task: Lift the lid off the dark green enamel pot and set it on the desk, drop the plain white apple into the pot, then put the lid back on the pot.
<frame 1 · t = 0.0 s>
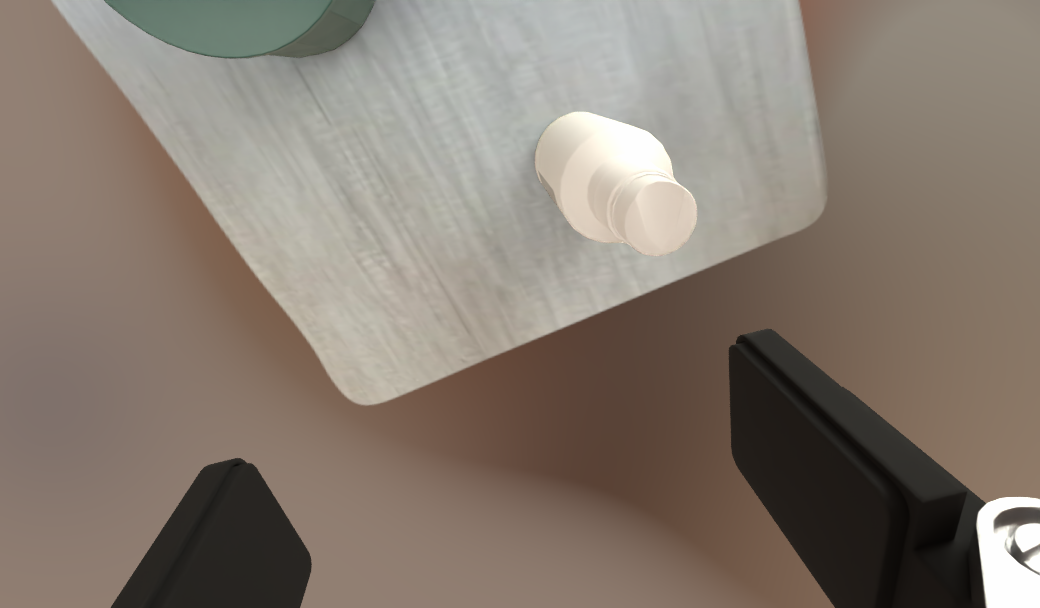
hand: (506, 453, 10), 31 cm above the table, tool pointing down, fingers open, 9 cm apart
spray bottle: (576, 157, 38), on the table
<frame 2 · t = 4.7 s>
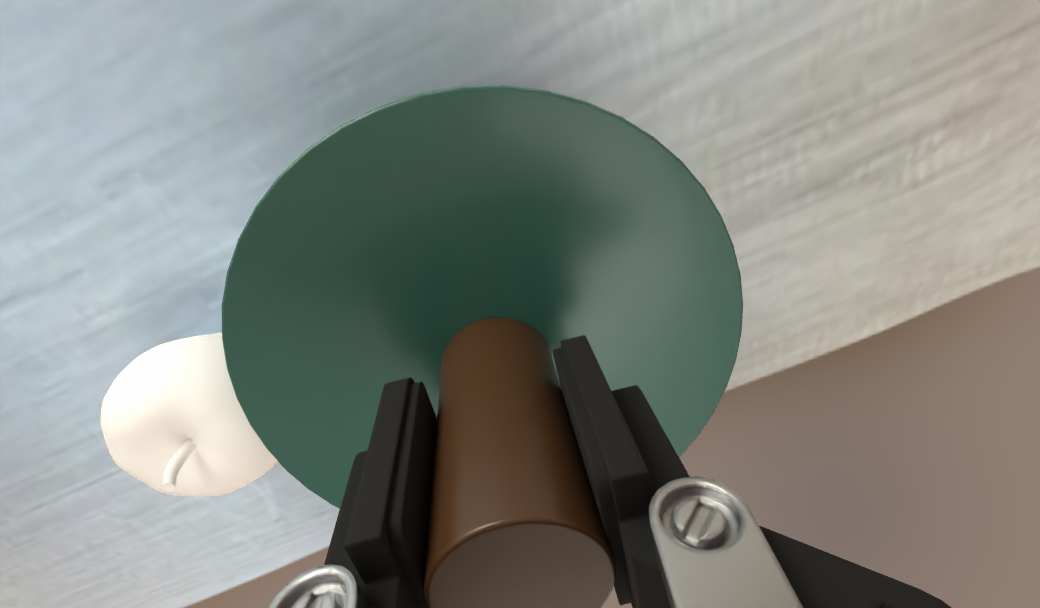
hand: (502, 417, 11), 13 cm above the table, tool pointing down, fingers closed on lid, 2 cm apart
plain white apple: (245, 365, 24), on the table
lid: (495, 352, 13), point 11 cm above the table, touching gripper, pot
when the fingers open (3 cm above the table, at t = 12.3 s): lid stays where it is, point 1 cm above the table.
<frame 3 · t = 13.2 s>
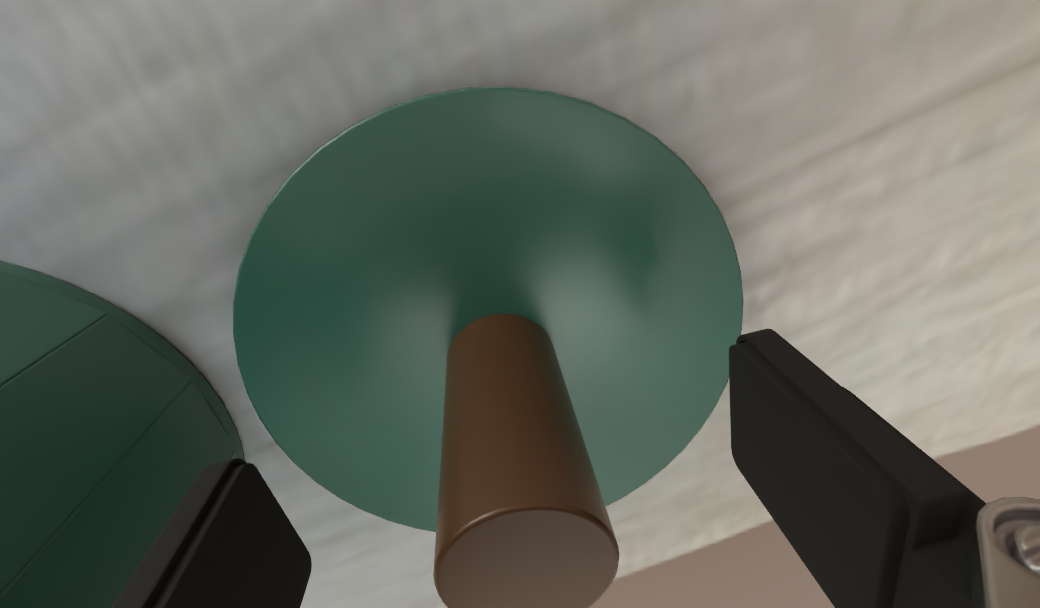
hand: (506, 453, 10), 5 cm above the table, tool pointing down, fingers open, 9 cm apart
pot: (14, 454, 14), on the table
lid: (499, 348, 13), point 1 cm above the table
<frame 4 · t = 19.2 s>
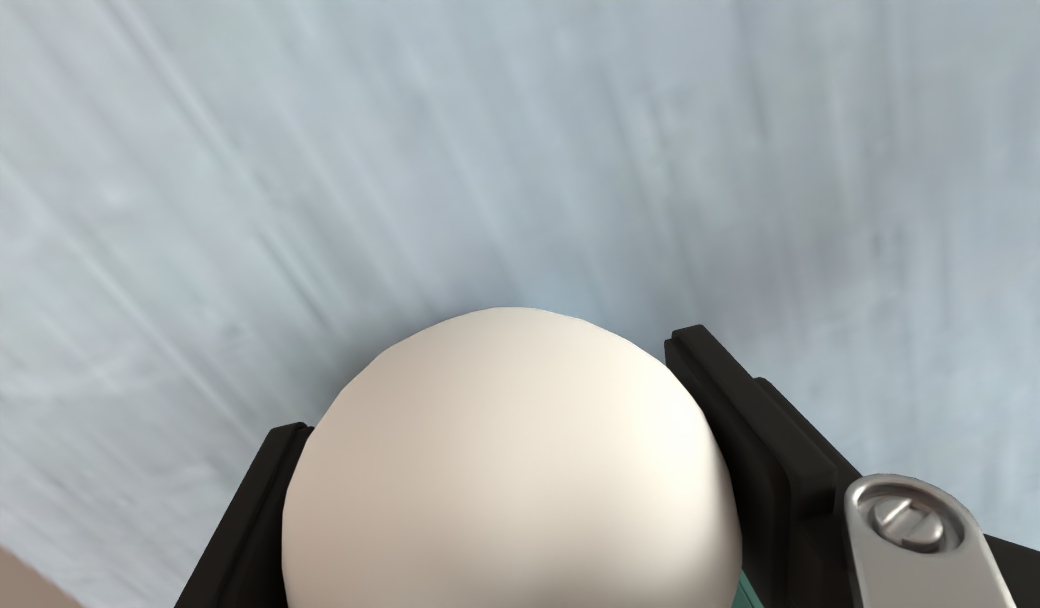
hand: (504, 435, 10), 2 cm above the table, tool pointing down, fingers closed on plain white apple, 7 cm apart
plain white apple: (498, 383, 12), on the table, touching gripper
when the fingers open (11 cm above the table, at t = 25.8 s): plain white apple drops 8 cm, resting on pot.
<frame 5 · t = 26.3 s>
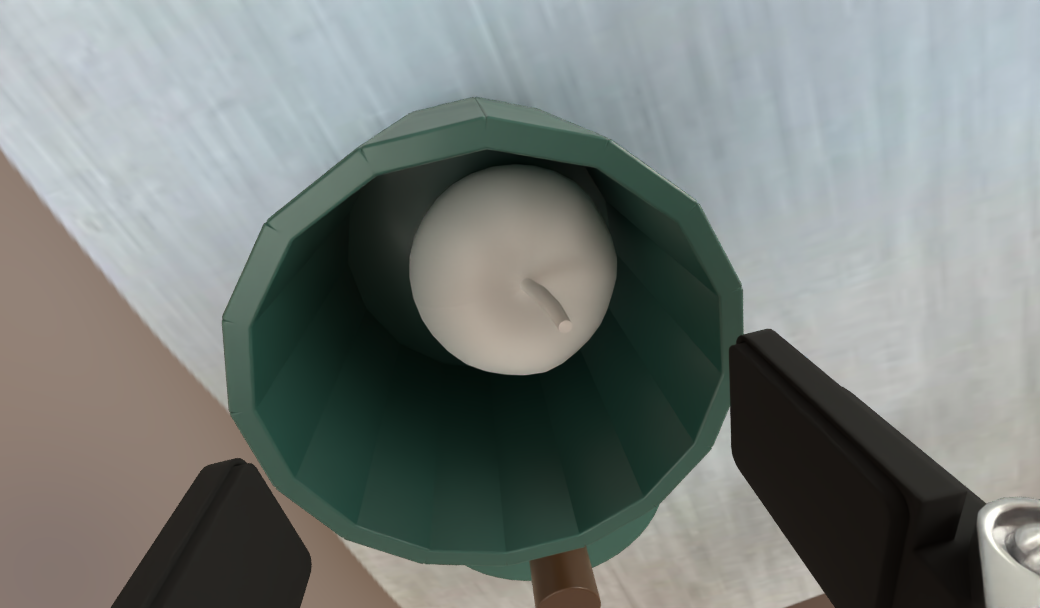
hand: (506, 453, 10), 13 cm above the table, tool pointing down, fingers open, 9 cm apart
plain white apple: (488, 254, 20), point 1 cm above the table, touching pot
pot: (482, 251, 21), on the table
lid: (545, 491, 27), point 1 cm above the table
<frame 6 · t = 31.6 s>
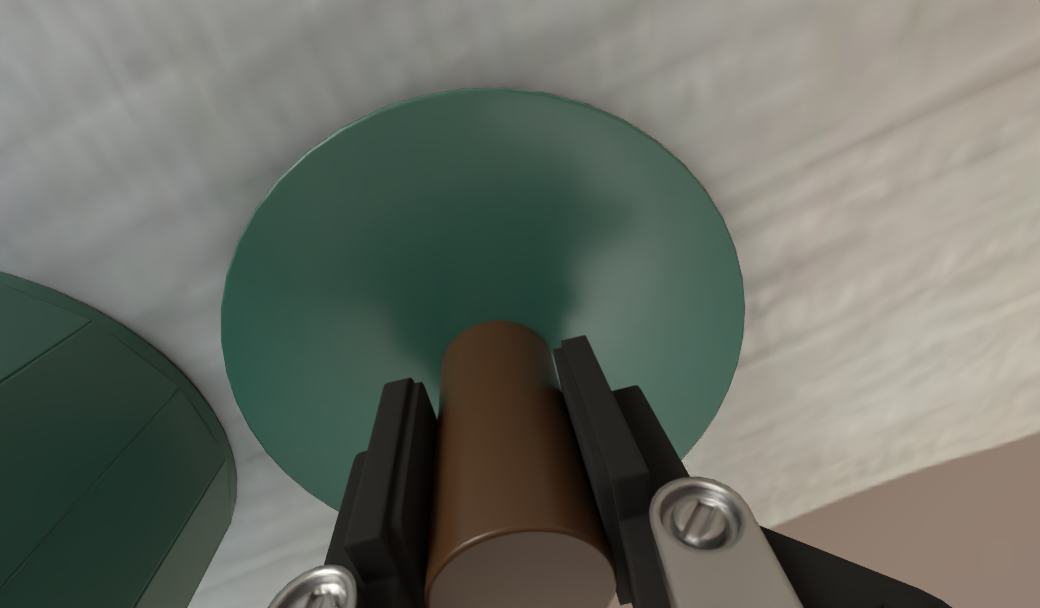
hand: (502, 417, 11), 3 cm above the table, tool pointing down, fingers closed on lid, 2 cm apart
lid: (495, 355, 13), point 1 cm above the table, touching gripper
when the fingers open (13 cm above the table, at t = 38.4 s): lid stays where it is, resting on pot.
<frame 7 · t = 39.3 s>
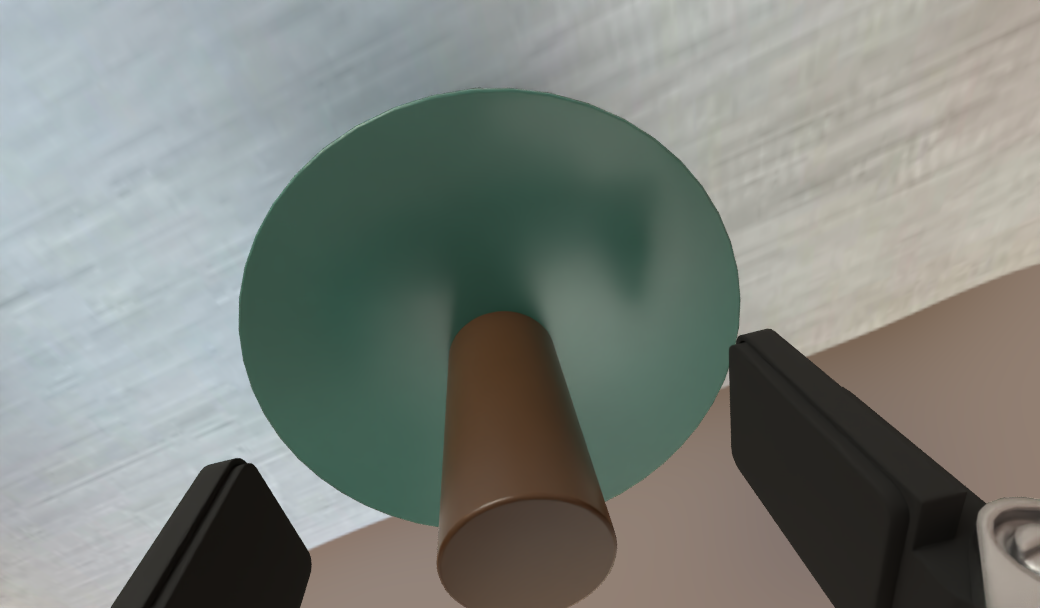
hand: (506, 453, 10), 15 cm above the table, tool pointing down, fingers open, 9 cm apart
lid: (500, 346, 13), point 10 cm above the table, touching pot
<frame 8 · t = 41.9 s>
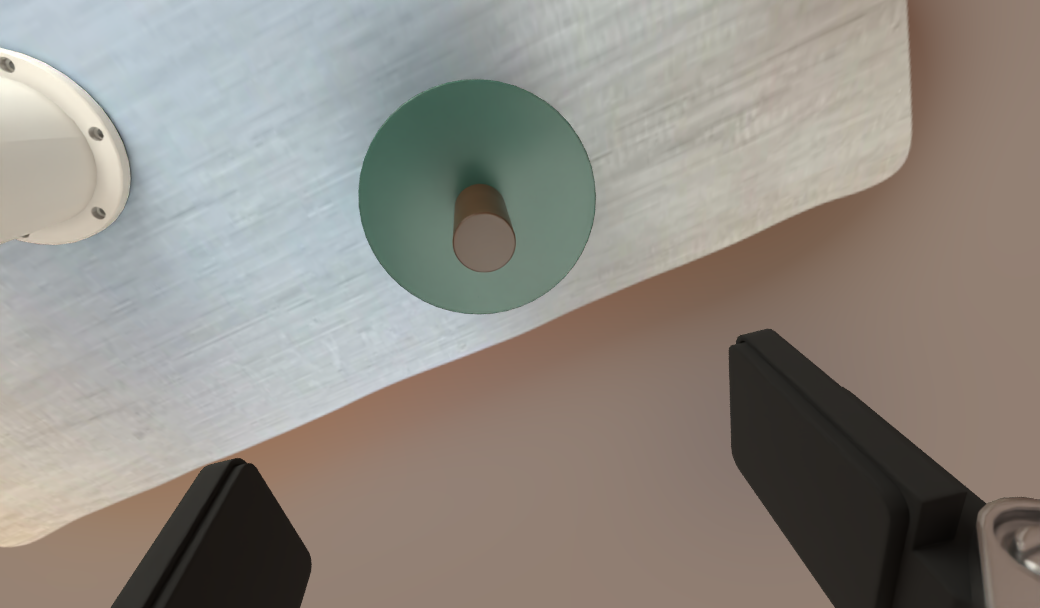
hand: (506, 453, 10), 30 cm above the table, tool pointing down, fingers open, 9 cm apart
lid: (479, 206, 27), point 10 cm above the table, touching pot
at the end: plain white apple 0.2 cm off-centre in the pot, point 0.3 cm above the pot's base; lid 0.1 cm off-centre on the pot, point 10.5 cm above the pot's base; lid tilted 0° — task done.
